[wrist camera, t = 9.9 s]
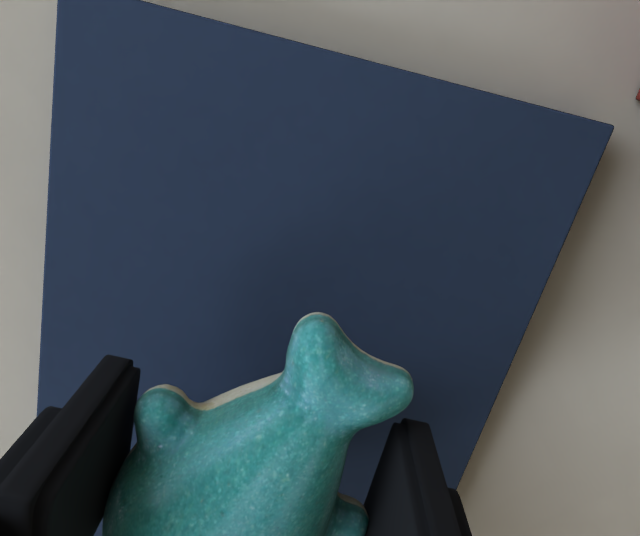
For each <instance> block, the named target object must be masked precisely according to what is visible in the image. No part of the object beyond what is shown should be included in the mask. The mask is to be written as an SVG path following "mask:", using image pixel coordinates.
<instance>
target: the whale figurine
mask: <svg viewBox="0 0 640 536" xmlns="http://www.w3.org/2000/svg"><path fill="white" fill-rule="evenodd" d="M413 394H414V385H413V381H412V378H411V376H410V374H409V373H408V371H406V370H405V369H404V368H402V367H400V366H398V365H395V364H392V363H388V362H385V361H382V360H380V359H377V358H375V357H373V356H371V355H369V354H367V353H366V352H364V351H363V350H361V349H360V348H359V347H357V346H356V345H355V344H354V343H353V342H352V341H351V340H350V339H349V338H348V337H347V336H346V335H345V333H344V332H343V330H342V329H341V327H340V326H339V324H338V323H337V322H336V321H335V320H334V319H333V318H332V317H331V316H330V315H328V314H325V313H321V312H314V313H309V314H308V315H306V316H304V317H303V318H301V319H300V320H299V322H298V323H297V325H296V326H295V328H294V330H293V333H292V336H291V339H290V342H289V345H288V349H287V353H286V364H285V368H284V370H283V372H281V373H278V374H275V375H272V376H268V377H265V378H262V379H259V380H256V381H253V382H250V383H248V384H245V385H242V386H239V387H237V388H235V389H232V390H230V391H227V392H225V393H222V394H220V395H218V396H216V397H214V398H212V399H209V400H207V401H205V402H202V403H197V402H194V401H192V400H190V399H189V398H188V397H187V396H186V394H185V393H184V392H183V391H182V390H181V389H179V388H178V387H175V386H172V385H169V384H163V385H157V386H155V387H153V388H150V389H149V390H147V391H146V392H145V393H144V394H143V395H142V396H141V397H140V398H139V400H138V401H137V403H136V406H135V409H134V425H135V431H136V437H137V443H136V444H135V445H134V447H133V448H132V449H131V451H130V452H129V454H128V456H127V457H126V459H125V461H124V462H123V464H122V466H121V467H120V469H119V471H118V472H117V475H116V477H115V479H114V481H113V484H112V486H111V489H110V492H109V495H108V498H107V501H106V505H105V510H104V516H103V525H102V536H365V534H366V531H367V527H368V522H369V517H368V514H367V512H366V510H365V508H364V506H363V505H362V504H361V503H360V502H359V501H358V500H356V499H355V498H353V497H350V496H348V495H344V494H341V493H339V492H338V490H339V486H340V483H341V478H342V474H343V470H344V465H345V460H346V456H347V450H348V447H349V444H350V441H351V440H352V438H353V436H354V435H355V434H356V433H357V432H358V431H359V430H361V429H363V428H366V427H369V426H372V425H375V424H378V423H381V422H383V421H385V420H387V419H389V418H392V417H394V416H396V415H397V414H399V413H400V412H402V411H403V410H404V409H405V408H406V407H407V406H408V405H409V404H410V402H411V401H412V398H413Z"/></svg>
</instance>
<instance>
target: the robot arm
mask: <svg viewBox="0 0 640 536" xmlns="http://www.w3.org/2000/svg"><path fill="white" fill-rule="evenodd" d="M140 372H141V371H140V368H137V367H133V360H132V359H127V358H122V357H118V356H113V355H106V356H104V357H103V359H102V360H101V361H100V362H99V364H98V365H97V366H96V367H95V369H94V370H93V371H92V372H91V374H90V375H89V376H88V377H87V378H86V380H85V381H84V382H83V383H82V385H81V386H80V387H79V388H78V390H77V391H76V392H75V393H74V394H73V396H72V397H71V398H70V399H69V401H68V402H67V403H66V404H65V406H64V407H63V408H58V407H53V406H49V407H46V408H45V409H44V410H43V411H42V412H41V413H40V414H39V415H38V416H37V418H36V419H35V420H34V421H33V422H32V423H31V424H30V426H29V427H28V428H27V429H26V430H25V431H24V433H23V434H22V435H21V436H20V437H19V438H18V440H17V441H16V442H15V443H14V444H13V445H12V446H11V448H10V449H9V450H8V451H7V452H6V453H5V455H4V456H3V457H2V458H1V459H0V536H94V534H95V532H96V530H97V528H98V526H99V524H100V522H101V521H102V519H103V516H104V510H105V505H106V501H107V498H108V495H109V492H110V489H111V486H112V484H113V481H114V479H115V477H116V475H117V472H118V471H119V469H120V467H121V466H122V464H123V462H124V461H125V459H126V457H127V456H128V454H129V452H130V448H131V440H132V433H133V425H134V409H135V406H136V403H137V395H138V388H139V380H140ZM363 506H364V508H365V510H366V512H367V514H368V517H369V522H368V527H367V531H366V534H365V536H472V534H471V531H470V528H469V525H468V521H467V518H466V515H465V512H464V509H463V505H462V502H461V499H460V497H459V494H458V492H457V491H456V490H455V489H453V488H448V487H447V484H446V480H445V477H444V474H443V470H442V467H441V463H440V460H439V456H438V453H437V450H436V446H435V443H434V439H433V436H432V432H431V429H430V426H429V424H428V423H426V422H421V421H417V420H412V419H408V418H403V419H402V421H401V423H396V422H395V423H393V425H392V427H391V430H390V432H389V435H388V438H387V441H386V444H385V446H384V449H383V452H382V455H381V458H380V460H379V463H378V466H377V469H376V471H375V474H374V477H373V480H372V483H371V485H370V488H369V491H368V494H367V497H366V499H365V502H364V505H363Z"/></svg>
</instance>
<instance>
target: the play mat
mask: <svg viewBox="0 0 640 536" xmlns="http://www.w3.org/2000/svg"><path fill="white" fill-rule="evenodd" d="M613 129H614V126H613V125H610V124H606V123H603V122H599V121H595V120H591V119H588V118H584V117H580V116H576V115H572V114H569V113H565V112H561V111H557V110H553V109H550V108H546V107H542V106H538V105H534V104H531V103H527V102H523V101H519V100H516V99H512V98H508V97H504V96H500V95H497V94H493V93H489V92H485V91H481V90H478V89H474V88H470V87H466V86H463V85H459V84H455V83H451V82H447V81H444V80H440V79H436V78H432V77H428V76H425V75H421V74H417V73H413V72H410V71H406V70H402V69H398V68H394V67H391V66H387V65H383V64H379V63H375V62H372V61H368V60H364V59H360V58H357V57H353V56H349V55H345V54H341V53H338V52H334V51H330V50H326V49H322V48H319V47H315V46H311V45H307V44H304V43H300V42H296V41H292V40H288V39H285V38H281V37H277V36H273V35H269V34H266V33H262V32H258V31H254V30H251V29H247V28H243V27H239V26H235V25H232V24H228V23H224V22H220V21H216V20H213V19H209V18H205V17H201V16H198V15H194V14H190V13H186V12H182V11H179V10H175V9H171V8H167V7H163V6H160V5H156V4H152V3H148V2H144V1H141V0H58V4H57V24H56V44H55V64H54V84H53V104H52V124H51V144H50V164H49V184H48V204H47V224H46V244H45V264H44V284H43V304H42V324H41V343H40V363H39V383H38V403H37V416H38V415H39V414H40V413H41V412H42V411H43V410H44V409H45V408H46V407H49V406H53V407H58V408H63V407H64V406H65V404H66V403H67V402H68V401H69V399H70V398H71V397H72V396H73V394H74V393H75V392H76V391H77V390H78V388H79V387H80V386H81V385H82V383H83V382H84V381H85V380H86V378H87V377H88V376H89V375H90V374H91V372H92V371H93V370H94V369H95V367H96V366H97V365H98V364H99V362H100V361H101V360H102V359H103V357H104V356H106V355H113V356H118V357H122V358H127V359H132V360H133V367H137V368H140V371H141V372H140V380H139V388H138V395H137V401H138V400H139V398H140V397H141V396H142V395H143V394H144V393H145V392H146V391H147V390H149V389H150V388H153V387H155V386H157V385H163V384H169V385H172V386H175V387H178V388H179V389H181V390H182V391H183V392H184V393H185V394H186V396H187V397H188V398H189V399H190V400H192V401H194V402H197V403H202V402H205V401H207V400H209V399H212V398H214V397H216V396H218V395H220V394H222V393H225V392H227V391H230V390H232V389H235V388H237V387H239V386H242V385H245V384H248V383H250V382H253V381H256V380H259V379H262V378H265V377H268V376H272V375H275V374H278V373H281V372H283V370H284V368H285V364H286V353H287V349H288V345H289V342H290V339H291V336H292V333H293V330H294V328H295V326H296V325H297V323H298V322H299V320H300V319H301V318H303V317H304V316H306V315H308V314H309V313H314V312H321V313H325V314H328V315H330V316H331V317H332V318H333V319H334V320H335V321H336V322H337V323H338V324H339V326H340V327H341V329H342V330H343V332H344V333H345V335H346V336H347V337H348V338H349V339H350V340H351V341H352V342H353V343H354V344H355V345H356V346H357V347H359V348H360V349H361V350H363V351H364V352H366V353H367V354H369V355H371V356H373V357H375V358H377V359H380V360H382V361H385V362H388V363H392V364H395V365H398V366H400V367H402V368H404V369H405V370H406V371H408V373H409V374H410V376H411V378H412V381H413V385H414V394H413V398H412V401H411V402H410V404H409V405H408V406H407V407H406V408H405V409H404V410H403V411H402V412H400V413H399V414H397V415H396V416H394V417H392V418H389V419H387V420H385V421H383V422H381V423H378V424H375V425H372V426H369V427H366V428H363V429H361V430H359V431H358V432H357V433H356V434H355V435H354V436H353V438H352V440H351V441H350V444H349V447H348V450H347V456H346V460H345V465H344V470H343V474H342V478H341V483H340V486H339V490H338V492H339V493H341V494H344V495H348V496H350V497H353V498H355V499H356V500H358V501H359V502H360V503H361V504H362V505H364V502H365V499H366V497H367V494H368V491H369V488H370V485H371V483H372V480H373V477H374V474H375V471H376V469H377V466H378V463H379V460H380V458H381V455H382V452H383V449H384V446H385V444H386V441H387V438H388V435H389V432H390V430H391V427H392V425H393V423H395V422H396V423H401V421H402V419H403V418H408V419H412V420H417V421H421V422H426V423H428V424H429V426H430V429H431V432H432V436H433V439H434V443H435V446H436V450H437V453H438V456H439V460H440V463H441V467H442V470H443V474H444V477H445V480H446V484H447V487H448V488H453V489H455V490H456V489H457V487H458V484H459V482H460V480H461V477H462V475H463V473H464V471H465V468H466V466H467V464H468V461H469V459H470V457H471V455H472V452H473V450H474V448H475V445H476V443H477V441H478V439H479V436H480V434H481V432H482V429H483V427H484V425H485V422H486V420H487V418H488V416H489V413H490V411H491V409H492V406H493V404H494V402H495V400H496V397H497V395H498V393H499V390H500V388H501V386H502V384H503V381H504V379H505V377H506V374H507V372H508V370H509V368H510V365H511V363H512V361H513V358H514V356H515V354H516V351H517V349H518V347H519V345H520V342H521V340H522V338H523V335H524V333H525V331H526V329H527V326H528V324H529V322H530V319H531V317H532V315H533V313H534V310H535V308H536V306H537V303H538V301H539V299H540V297H541V294H542V292H543V290H544V287H545V285H546V283H547V280H548V278H549V276H550V274H551V271H552V269H553V267H554V264H555V262H556V260H557V258H558V255H559V253H560V251H561V248H562V246H563V244H564V242H565V239H566V237H567V235H568V232H569V230H570V228H571V226H572V223H573V221H574V219H575V216H576V214H577V212H578V209H579V207H580V205H581V203H582V200H583V198H584V196H585V193H586V191H587V189H588V187H589V184H590V182H591V180H592V177H593V175H594V173H595V171H596V168H597V166H598V164H599V161H600V159H601V157H602V155H603V152H604V150H605V148H606V145H607V143H608V141H609V139H610V136H611V134H612V132H613ZM136 443H137V437H136V431H135V425H133V433H132V440H131V448H130V451H131V449H132V448H133V447H134V445H135V444H136ZM102 525H103V519H102V521H101V522H100V524H99V526H98V528H97V530H96V532H95V534H94V536H102Z"/></svg>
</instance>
